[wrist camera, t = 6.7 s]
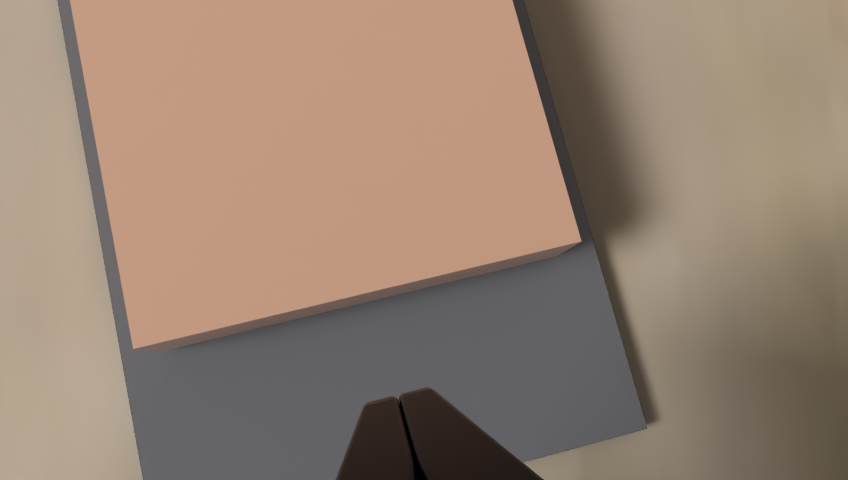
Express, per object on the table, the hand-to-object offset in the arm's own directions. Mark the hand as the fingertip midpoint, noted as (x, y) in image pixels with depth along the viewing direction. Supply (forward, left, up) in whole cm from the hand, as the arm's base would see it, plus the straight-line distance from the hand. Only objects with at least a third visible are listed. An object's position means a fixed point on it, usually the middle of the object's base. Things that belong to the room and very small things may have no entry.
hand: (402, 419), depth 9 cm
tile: (+2, -1, -6) cm, 6 cm away
